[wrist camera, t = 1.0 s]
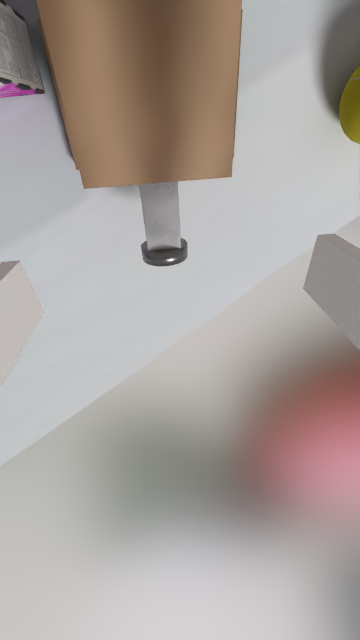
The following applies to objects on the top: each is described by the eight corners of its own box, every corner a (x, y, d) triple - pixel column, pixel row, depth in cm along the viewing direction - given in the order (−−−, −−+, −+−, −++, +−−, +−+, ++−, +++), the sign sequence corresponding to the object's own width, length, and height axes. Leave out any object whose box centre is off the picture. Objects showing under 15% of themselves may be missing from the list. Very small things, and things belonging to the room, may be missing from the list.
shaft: (143, 249, 27) (142, 268, 23) (88, -121, 14) (68, -201, 11) (185, 246, 27) (190, 263, 24) (168, -123, 14) (174, -204, 11)
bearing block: (79, 167, 27) (38, 192, 17) (43, 26, 21) (-53, -64, 11) (229, 156, 28) (274, 173, 18) (237, 15, 22) (311, -79, 12)
